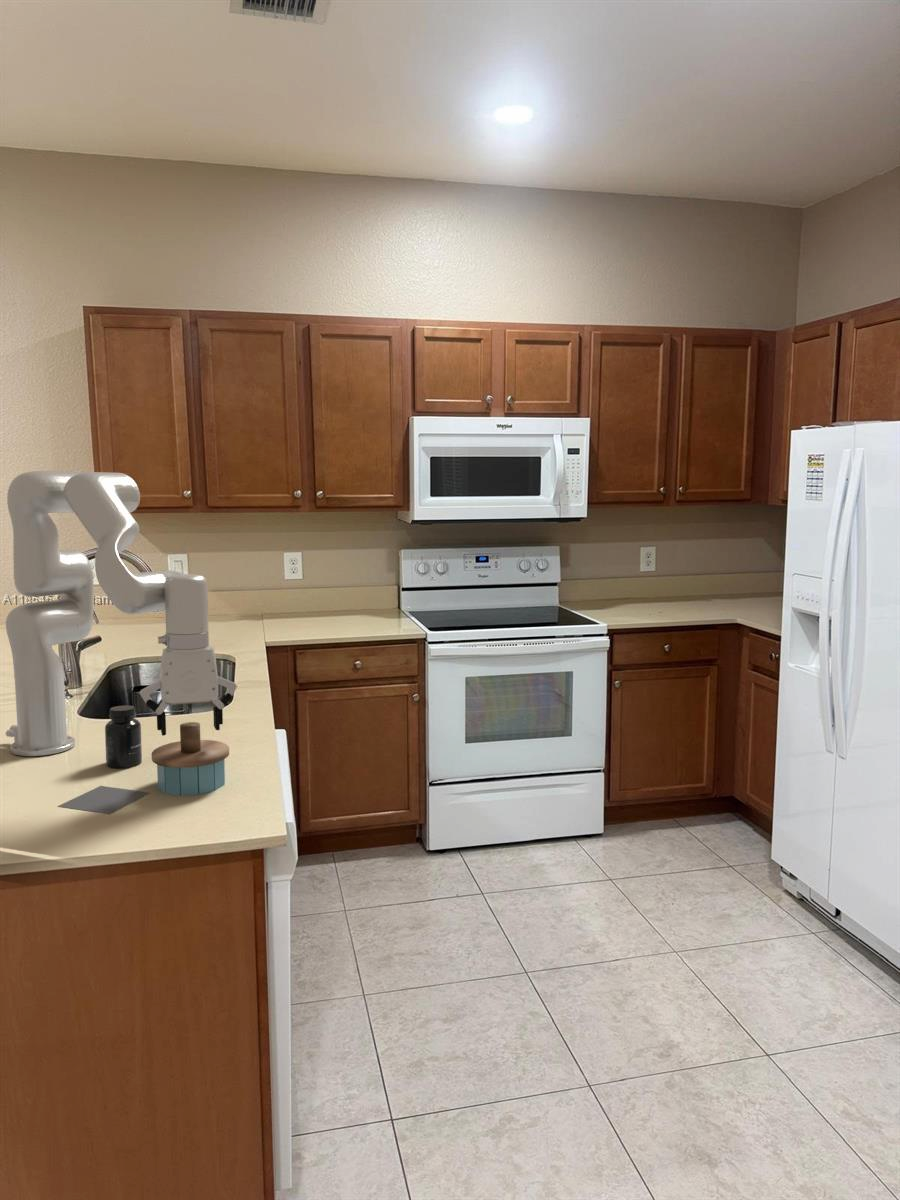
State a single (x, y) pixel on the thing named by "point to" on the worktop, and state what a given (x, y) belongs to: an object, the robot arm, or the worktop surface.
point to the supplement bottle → (123, 738)
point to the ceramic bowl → (191, 779)
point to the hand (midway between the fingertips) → (190, 730)
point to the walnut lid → (190, 750)
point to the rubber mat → (104, 799)
